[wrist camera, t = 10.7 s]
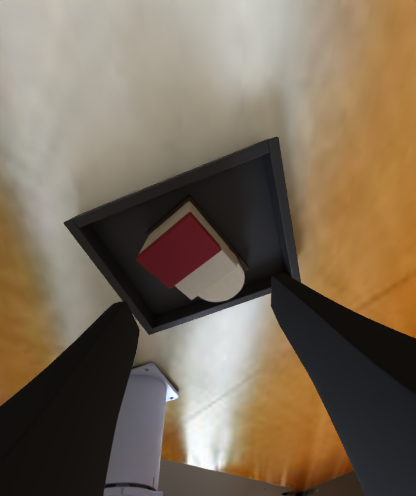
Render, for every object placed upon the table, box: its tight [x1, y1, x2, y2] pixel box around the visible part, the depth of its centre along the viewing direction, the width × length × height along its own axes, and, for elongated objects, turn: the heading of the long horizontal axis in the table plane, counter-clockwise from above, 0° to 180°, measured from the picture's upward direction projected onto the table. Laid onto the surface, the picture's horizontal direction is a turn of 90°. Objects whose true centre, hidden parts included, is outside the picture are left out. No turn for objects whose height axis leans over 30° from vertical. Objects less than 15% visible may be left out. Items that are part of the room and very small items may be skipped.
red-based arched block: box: [136, 194, 250, 302], centre depth 13 cm, size 8×4×5 cm, turn 38°
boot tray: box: [64, 137, 301, 335], centre depth 15 cm, size 15×12×2 cm
